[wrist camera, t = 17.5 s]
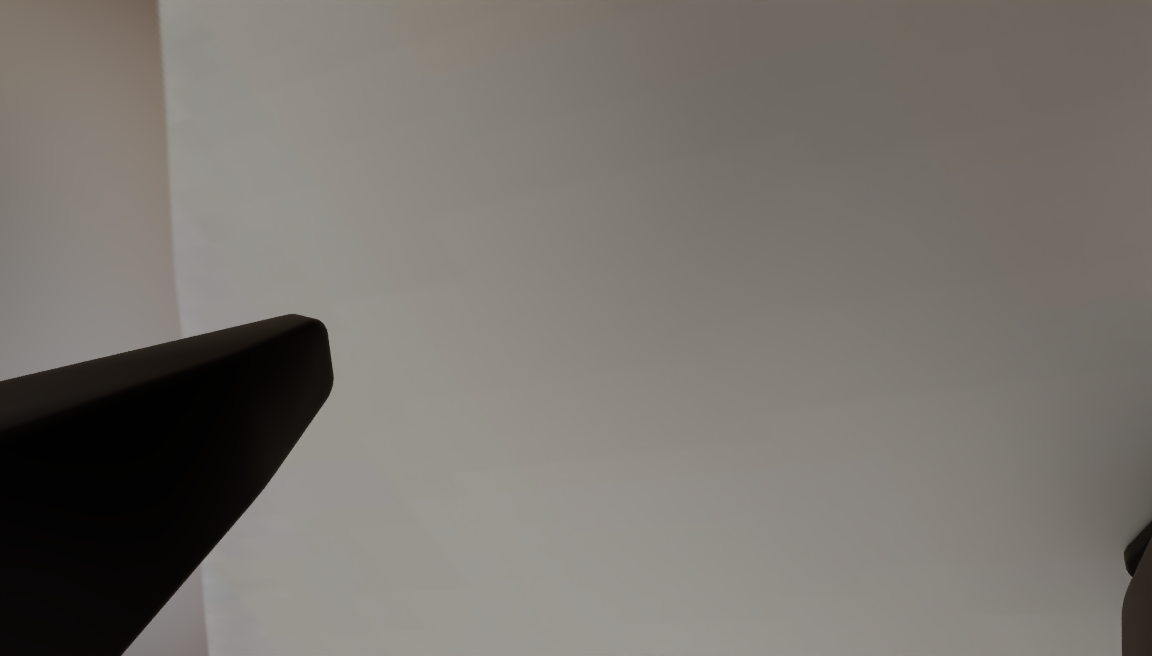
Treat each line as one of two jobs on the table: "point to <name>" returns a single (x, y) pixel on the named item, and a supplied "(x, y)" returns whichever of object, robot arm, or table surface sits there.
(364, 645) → the table surface
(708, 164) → the table surface
